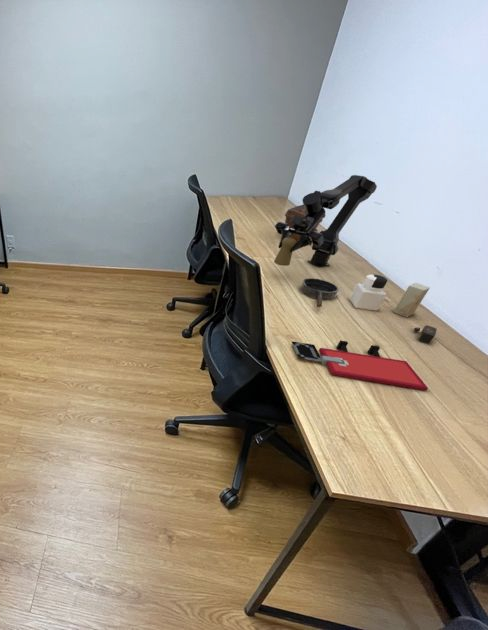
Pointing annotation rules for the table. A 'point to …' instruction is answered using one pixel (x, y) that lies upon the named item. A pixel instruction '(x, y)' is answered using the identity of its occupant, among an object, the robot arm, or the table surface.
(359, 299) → the medicine bottle
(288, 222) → the case
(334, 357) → the red board with handle
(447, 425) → the table surface
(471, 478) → the table surface
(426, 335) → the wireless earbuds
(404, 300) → the box
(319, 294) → the pan handle
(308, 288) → the pan
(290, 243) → the cork
